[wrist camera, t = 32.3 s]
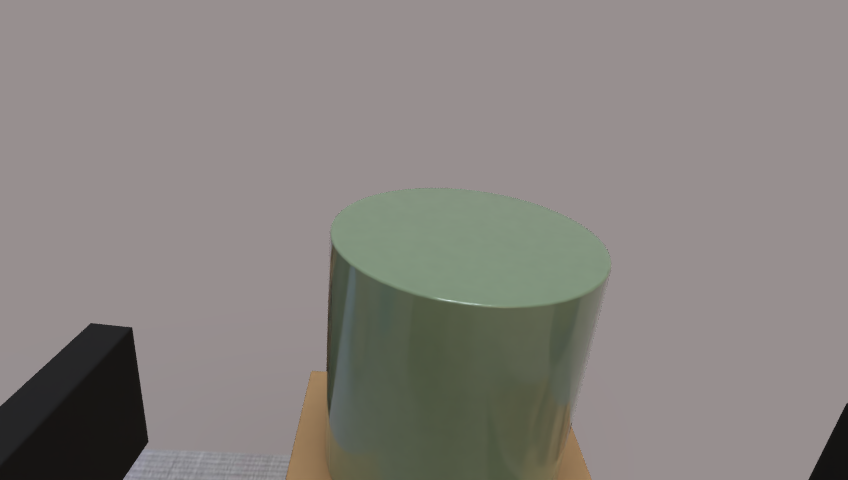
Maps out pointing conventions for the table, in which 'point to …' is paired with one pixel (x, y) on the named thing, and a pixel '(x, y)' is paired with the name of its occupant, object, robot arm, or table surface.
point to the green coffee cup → (456, 335)
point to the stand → (308, 453)
